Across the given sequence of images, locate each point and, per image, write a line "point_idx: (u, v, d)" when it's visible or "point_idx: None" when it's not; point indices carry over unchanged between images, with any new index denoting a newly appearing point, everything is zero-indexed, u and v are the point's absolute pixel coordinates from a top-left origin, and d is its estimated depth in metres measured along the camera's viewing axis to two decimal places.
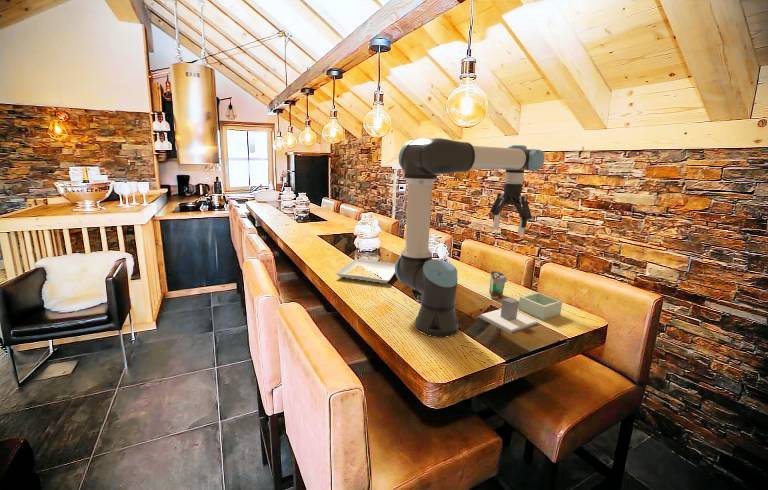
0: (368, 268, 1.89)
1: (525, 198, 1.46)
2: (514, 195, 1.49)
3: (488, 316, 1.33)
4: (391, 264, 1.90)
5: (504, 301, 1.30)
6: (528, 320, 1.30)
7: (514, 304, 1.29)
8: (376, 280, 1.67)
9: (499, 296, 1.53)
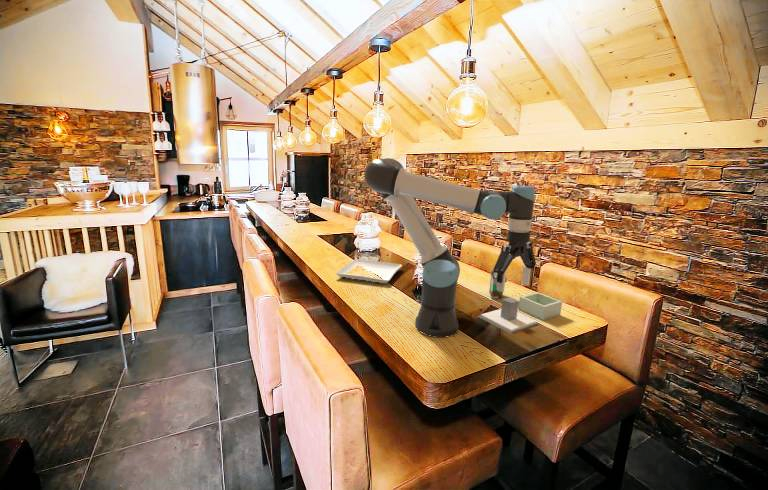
0: (368, 268, 1.89)
1: (504, 248, 1.22)
2: None
3: (488, 316, 1.33)
4: (391, 264, 1.90)
5: (504, 301, 1.30)
6: (528, 320, 1.30)
7: (514, 304, 1.29)
8: (376, 280, 1.67)
9: (499, 296, 1.53)
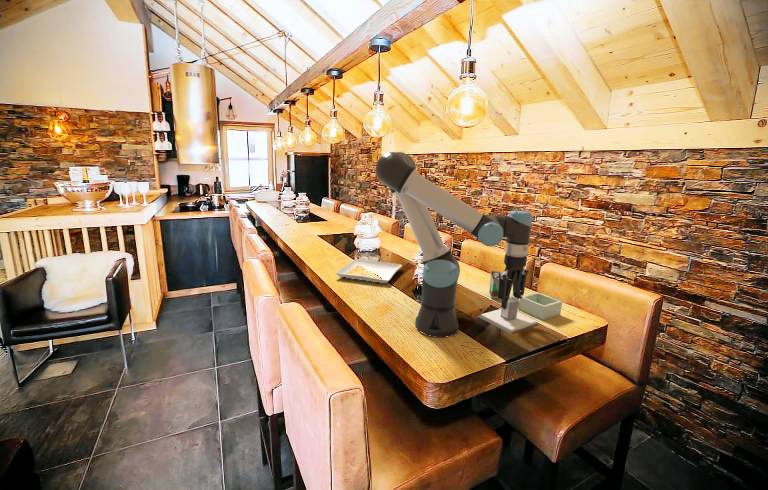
0: (368, 268, 1.89)
1: (501, 277, 1.25)
2: None
3: (488, 316, 1.33)
4: (391, 264, 1.90)
5: None
6: (528, 320, 1.30)
7: (514, 304, 1.29)
8: (376, 280, 1.67)
9: None
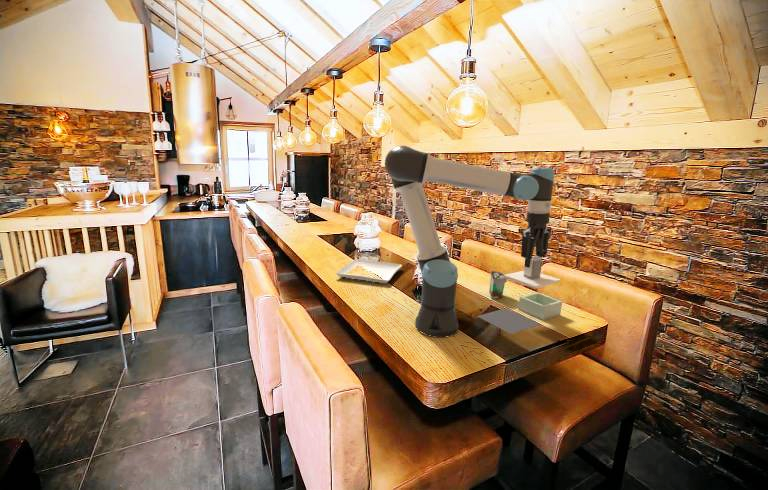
0: (368, 268, 1.89)
1: (524, 234, 1.25)
2: None
3: (511, 276, 1.33)
4: (391, 264, 1.90)
5: None
6: (552, 279, 1.30)
7: (537, 262, 1.29)
8: (376, 280, 1.67)
9: (499, 296, 1.53)
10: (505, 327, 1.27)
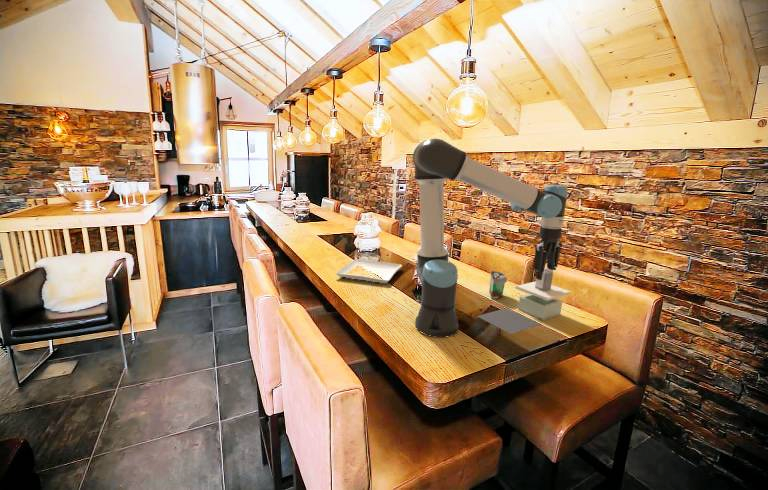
0: (368, 268, 1.89)
1: (537, 248, 1.31)
2: None
3: (523, 287, 1.38)
4: (391, 264, 1.90)
5: None
6: (562, 290, 1.36)
7: (549, 275, 1.35)
8: (376, 280, 1.67)
9: (499, 296, 1.53)
10: (505, 327, 1.27)
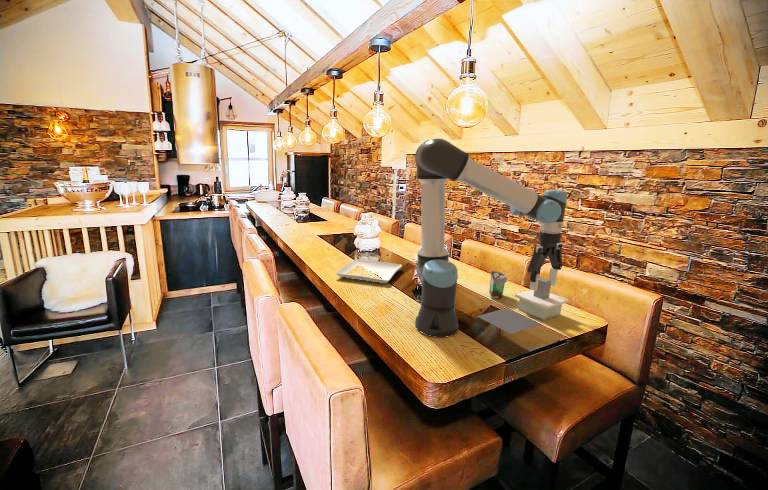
0: (368, 268, 1.89)
1: (536, 249, 1.31)
2: None
3: (522, 295, 1.39)
4: (391, 264, 1.90)
5: (538, 280, 1.37)
6: (560, 299, 1.37)
7: (547, 283, 1.36)
8: (376, 280, 1.67)
9: (499, 296, 1.53)
10: (505, 327, 1.27)
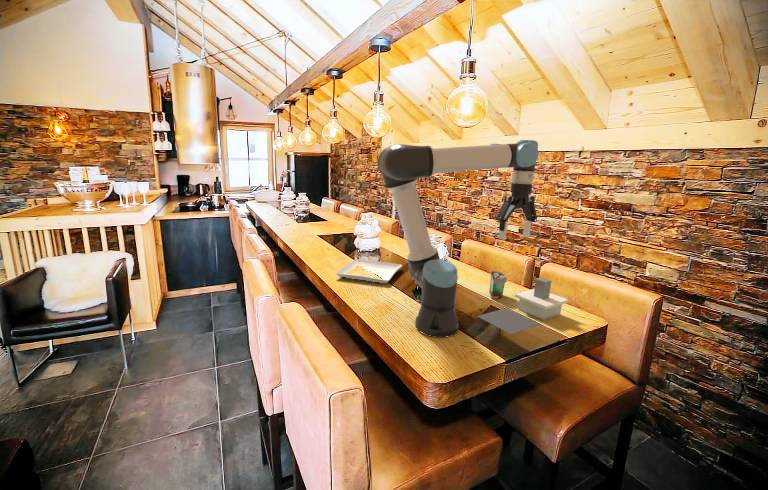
0: (368, 268, 1.89)
1: (507, 198, 1.31)
2: None
3: (522, 295, 1.39)
4: (391, 264, 1.90)
5: (538, 280, 1.37)
6: (560, 299, 1.37)
7: (547, 283, 1.36)
8: (376, 280, 1.67)
9: (499, 296, 1.53)
10: (505, 327, 1.27)
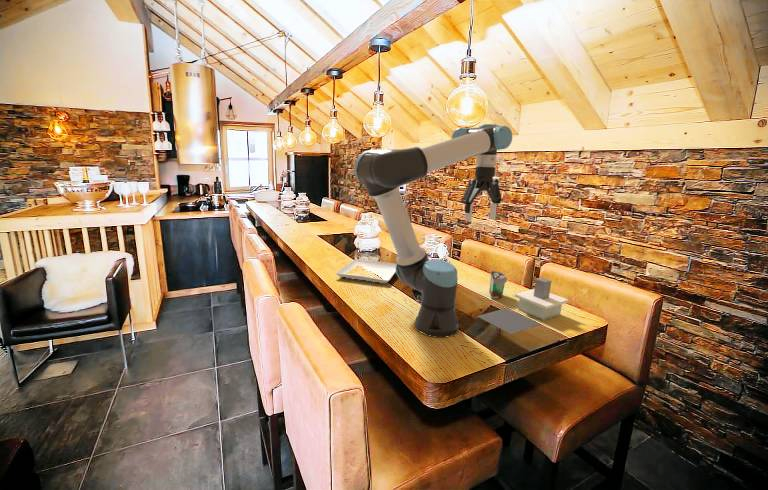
0: (368, 268, 1.89)
1: (471, 181, 1.36)
2: None
3: (522, 295, 1.39)
4: (391, 264, 1.90)
5: (538, 280, 1.37)
6: (560, 299, 1.37)
7: (547, 283, 1.36)
8: (376, 280, 1.67)
9: (499, 296, 1.53)
10: (505, 327, 1.27)
